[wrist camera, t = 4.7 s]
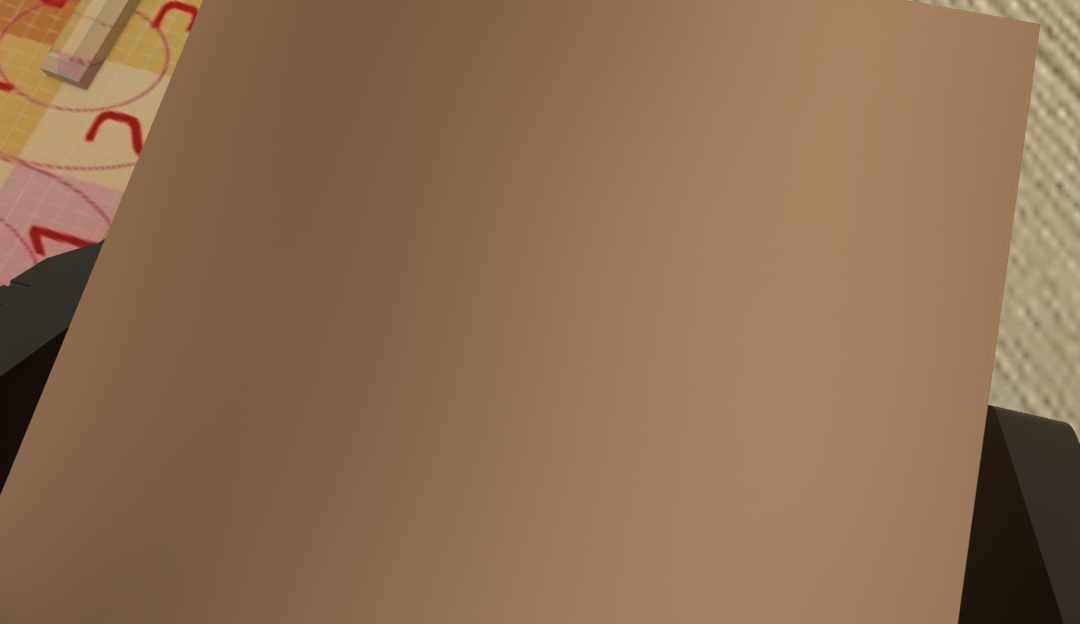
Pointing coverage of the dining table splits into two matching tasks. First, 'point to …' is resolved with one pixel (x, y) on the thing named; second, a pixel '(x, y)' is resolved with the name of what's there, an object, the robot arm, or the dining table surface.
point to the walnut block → (537, 320)
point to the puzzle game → (76, 115)
